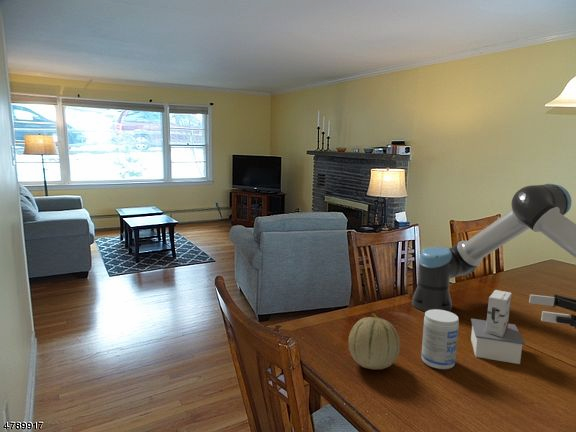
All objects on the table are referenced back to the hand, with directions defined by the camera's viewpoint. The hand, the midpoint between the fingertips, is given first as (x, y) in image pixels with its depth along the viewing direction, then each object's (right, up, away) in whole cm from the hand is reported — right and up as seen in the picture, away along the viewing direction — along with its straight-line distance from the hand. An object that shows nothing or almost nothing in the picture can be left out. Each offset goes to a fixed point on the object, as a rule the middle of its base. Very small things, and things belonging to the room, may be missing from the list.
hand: (535, 306), depth 117 cm
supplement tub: (-30, -16, -1) cm, 34 cm away
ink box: (-9, -9, +5) cm, 13 cm away
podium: (-9, -15, +6) cm, 19 cm away
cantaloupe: (-50, -17, -3) cm, 52 cm away
